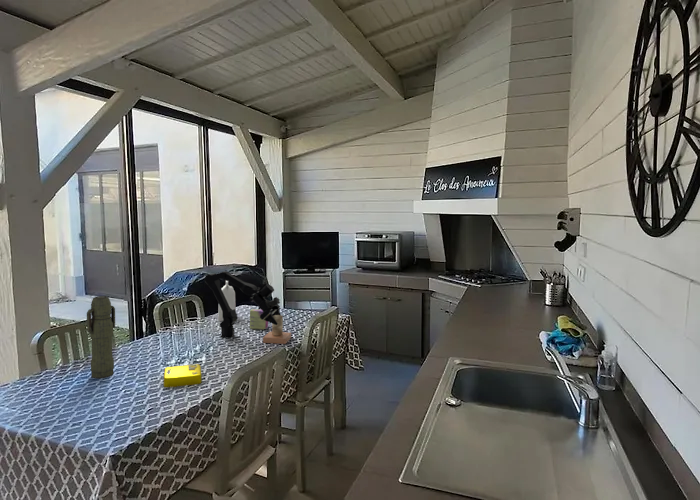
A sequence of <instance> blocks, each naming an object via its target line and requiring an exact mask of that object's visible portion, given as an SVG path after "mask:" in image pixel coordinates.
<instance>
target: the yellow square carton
mask: <svg viewBox="0 0 700 500" xmlns="http://www.w3.org/2000/svg"><path fill="white" fill-rule="evenodd" d="M202 376H203V375H202V366H201V365H200V364H197V363H196V364H185V365H176V366H166V367H165V368H164V373H163V387H164V388H177V387H184V386H194V385H200V384H201V383H202Z"/></svg>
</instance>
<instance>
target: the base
mask: <svg viewBox="0 0 700 500" xmlns="http://www.w3.org/2000/svg"><path fill="white" fill-rule="evenodd" d="M290 339H292V332H285V331H283V335H282V336H272V331H268V333H266V334H265V335H264V336H263V337H262V343H263V344H267V343H268V344H279V345H280V344H283V345H286V344H287V343H288V342H289V340H290Z"/></svg>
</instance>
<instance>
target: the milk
mask: <svg viewBox="0 0 700 500" xmlns="http://www.w3.org/2000/svg"><path fill="white" fill-rule="evenodd" d="M221 289H222V292H223V294H224V296H225V298H226V300H227V302H228V304H229V307H230V308H231V309H232V310H234V309H235V311H236V310H237V309H236V291H235V290H234V287H233V286H232V285H229V282H228V281H227V280H225V285H223V287H221ZM217 311H218V313H217V319H218V320H217V321H218V322H222V321H223V312H222V309H221V307H220V305H219V304H218V310H217Z"/></svg>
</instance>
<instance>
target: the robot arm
mask: <svg viewBox="0 0 700 500" xmlns="http://www.w3.org/2000/svg"><path fill="white" fill-rule="evenodd" d="M222 279H223V280H225V281H228V283H230V284H231V285H233V286H235V287H237V288H239V289H240V291H241V292H242V293H243V294H245V296H247V297H249V303H253V302H254V303H255V305H257V306H258V309H261V310H262V311H263V313H262V314H261V315H260V318H261V319H262V320H263V319H264V318H265V319H264V320H265V321H268V323H270V324H272V323H273V324H275V325H277V324H278V323H277V322H276V320H275V319H274V317H273V316H274V315H282V314H281V313H280V311H281V305H279V304H280V303H281V302H280V301H281V300H280V299H279V297H277V296H276V297H273V299H272V300H269V299H266V298H269V297H270V295H271V294H272V293H274V292H275V289H274V287H273V286H272V285H271V284H269V283H267V282H265V283H263V284H262V286H261V287H257V285H255V284H253V283H251V282H246V281H244V280H242V279H240V278H238V277H237V276H235V275H233V274H232V273H230V272H229V271H228V270H224V271H221V272H218V273H215V272H213V273H208V274H206V275H205V277H204V282H205V283H206V285H207V286H208V287H209V288H210V289H211V290H212V292H213V294H214V296H215V299H216V300H217V303H218V306H219V305H220V307H221V309H222V312H223V321H220V323H219V327H220V328H221V330H220V331H221V333H220V335H221V336H219V337H220V338H226V339H227V338H230V339H231V338H232V337H234V336H235V328H234V325H235V323H236V322H237V321H238V313H237V312H236V311H235V309H234V310H232V309H231V308H230V307H229V304H228V302H227V300H226V298H225V296H224V294H223V292H222V287H221V281H220V280H222Z"/></svg>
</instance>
